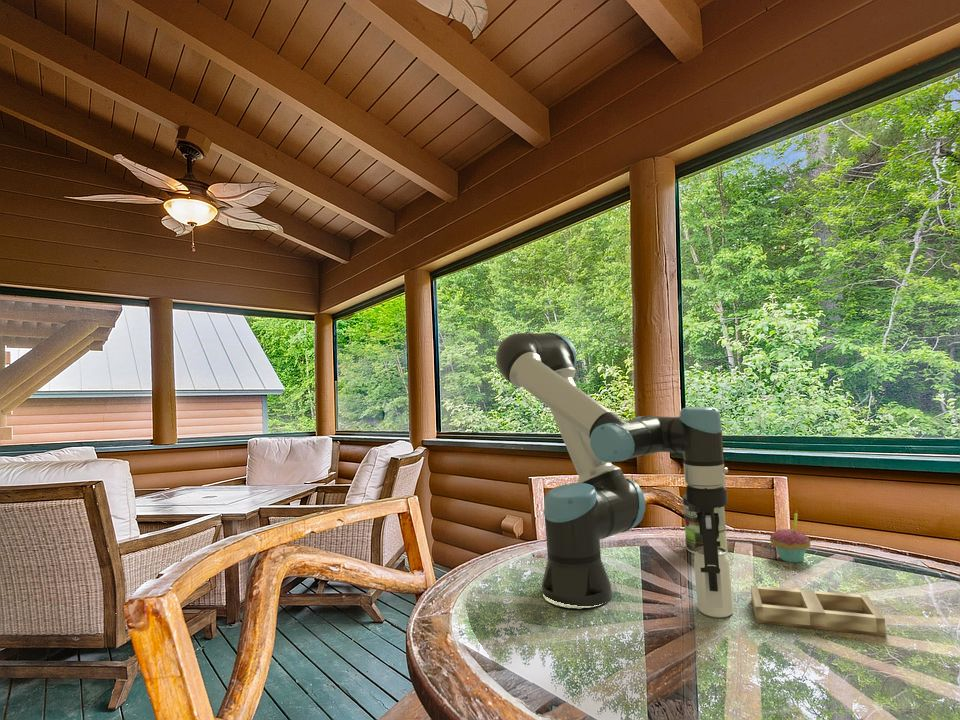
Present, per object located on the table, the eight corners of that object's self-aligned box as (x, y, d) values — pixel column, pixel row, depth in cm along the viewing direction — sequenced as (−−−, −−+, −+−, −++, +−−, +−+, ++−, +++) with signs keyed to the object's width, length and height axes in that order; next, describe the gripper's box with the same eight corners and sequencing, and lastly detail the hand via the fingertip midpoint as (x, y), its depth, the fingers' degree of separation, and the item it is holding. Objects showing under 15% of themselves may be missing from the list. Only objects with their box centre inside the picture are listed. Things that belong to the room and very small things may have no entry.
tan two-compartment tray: (756, 622, 98) (755, 606, 98) (751, 600, 108) (750, 585, 108) (886, 636, 91) (884, 618, 91) (868, 611, 100) (867, 595, 100)
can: (737, 619, 100) (732, 556, 100) (701, 618, 101) (696, 555, 102) (728, 604, 106) (723, 545, 107) (694, 603, 108) (690, 545, 108)
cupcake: (812, 555, 130) (807, 507, 130) (812, 567, 122) (807, 515, 123) (772, 551, 134) (768, 504, 135) (770, 562, 127) (766, 512, 127)
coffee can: (698, 558, 133) (694, 502, 133) (679, 545, 143) (675, 494, 143) (736, 554, 134) (732, 499, 134) (714, 542, 144) (710, 490, 144)
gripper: (729, 500, 92) (739, 623, 91) (723, 472, 115) (731, 570, 114) (683, 498, 95) (692, 617, 94) (686, 472, 118) (694, 568, 117)
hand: (713, 592), depth 104 cm, fingers open, 13 cm apart
